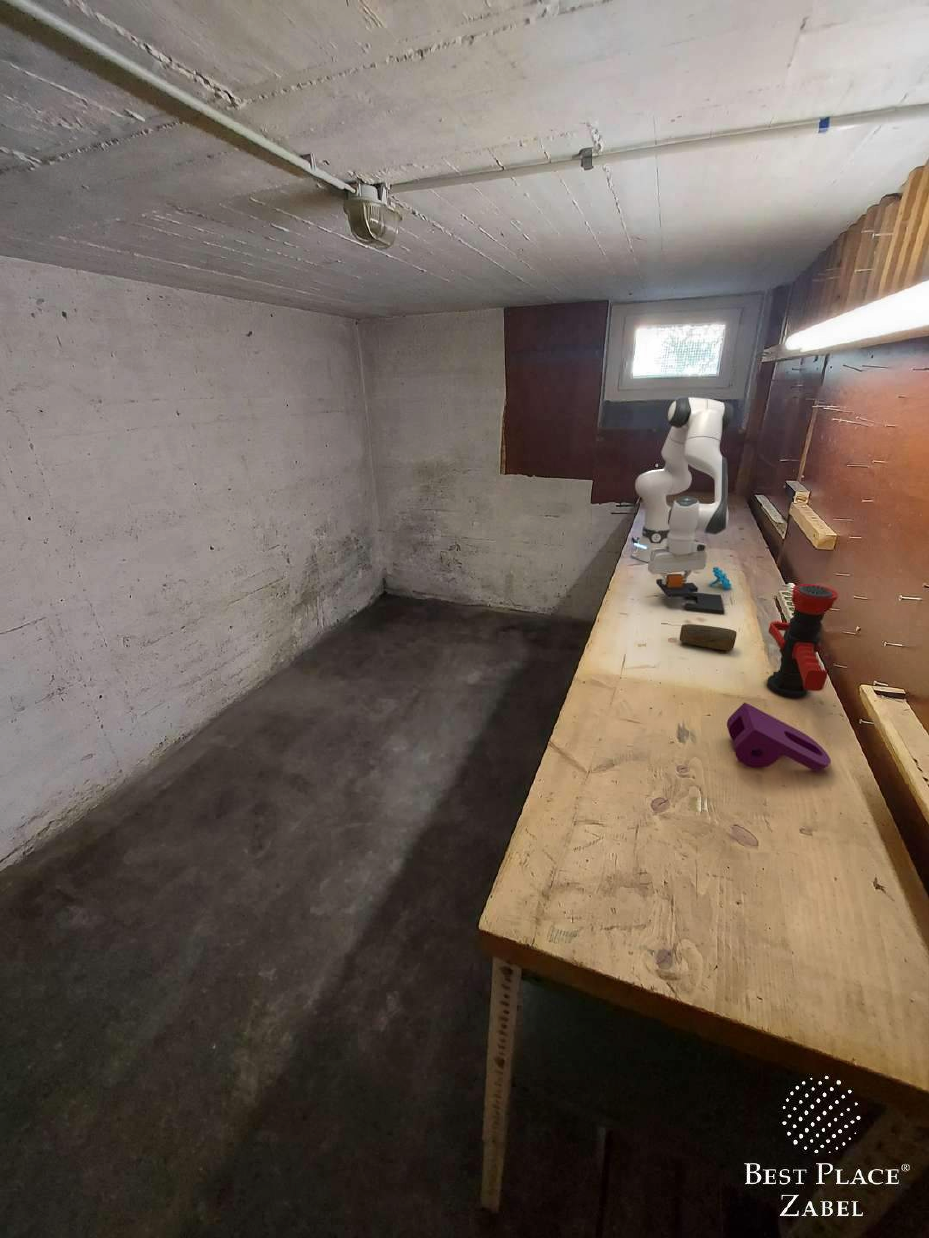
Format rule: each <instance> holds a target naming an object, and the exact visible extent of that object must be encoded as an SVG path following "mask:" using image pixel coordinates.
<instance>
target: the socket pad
mask: <svg viewBox="0 0 929 1238" xmlns="http://www.w3.org/2000/svg"><path fill="white" fill-rule="evenodd" d="M691 593H692V597H683V598H684V600H693V601H696V603H694V602H693V603H692V602H685V605H684V610H685V611H687V612H688V611H689V612H698V613H704V614H705V613H706V614H715V615H724V614H725V608H724V603H723V597H722V595H721V594H716V593H715V594H714V593H713V594H712V593H703V592H691Z"/></svg>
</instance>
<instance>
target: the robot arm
mask: <svg viewBox="0 0 929 1238" xmlns="http://www.w3.org/2000/svg"><path fill="white" fill-rule="evenodd" d="M734 413H735V411H734V407H733V404H730V403H729V402H726V401H719V400H715V399H712V398H711V399H710V398H703V397H688V396H678V397H677V398H675V399H674V400H673V401H672V403H671V404H670V406H669V408H668V411H667V422H668V424H669V425H670V426H671V428H670V429H669V432H668V434H667V437H666V438H665V441H664V444H663V447H662V449H661V457H662V459H663V460H664V461H665V465H664V466H663V468H662V469H653V470H648V471H646V472H643V473H641V474H639V475H638V477H637V478H636V479H635V482H634V488H635V492H636V494H637V495H638V496H639V497H640V498H641V499H642V501H643V503H644V507H645V512H644V513H645V514H644V515H645V516H644V525H643V527H642V529H641V531H642V532H641V535H640V536H637V537H636V539H635V537H634V536H631V540H632V541H633V545H634V546H636V549H635V550H634V551H633V552H632V553H631V558H634V559H638V560H639V561H642V562H645V563H648V565H647V571H648V572H649V573H650V574H652V575H660V577H661V579H663V580H662V584H664V585H665V584H668V582H669V580H668V579H667V578H666V576H667V574H675V573H683V572H684V573H683V574H682V575H683V576H684V579H683V583H687V580H688V578H689V576H691V574H692V571H700V570H701V571H702V570H704V569H705V568H706V565H707V561H708V553H707V550H708V549H709V545H707V544H706V543H704V542H702V541H699V540H697V539H696V532H697V533H705V534H709V535H718V534H720V533H722V532H723V531H725V530H726V528H727V526H728V524H729V519H730V513H729V508H728V487H729V486H728V485H729V482H728V481H729V480H728V479H729V478H728V475H729V474H728V460H727V458H726V457H725V456H723V455H722V453H721V450H720V445H721V440H722V433H723V432H724V431H726V430H727V429H728V428H730V427H729V426H730V425H731V423H732V420H733V417H734ZM689 466H690V467H691V468H693V469H695V470H697V471H700V472H701V473H704V474H706V475H708V476H710V477H711V478H712V479H713V481H714V502H713V503H701V502H700V501H699V499H698V498H697V497H695V496H689V495H688V496H687V495H686V496H680V497H677V498H676V499H675V500H674V501H673V505H672V507H671V506H670V505H669V504H668V503H667V496H671V495H672V496H673V495H677V494H680V493H682V492H684V491H687V490H688V489H689V488H690V486H691V484H692V479H693V477H692V473H691V472H690V470H689Z"/></svg>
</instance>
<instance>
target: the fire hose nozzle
mask: <svg viewBox="0 0 929 1238" xmlns="http://www.w3.org/2000/svg"><path fill="white" fill-rule="evenodd" d="M791 592H792V596H791V602H792V604H793V606H794V609H793V613H792V614H793V616H792V617H791V618H790V620H789V622H784V621H780V620H775V621H771V622H770V623H769V627H768V631H767V632H768V633H769V635H770V636H771V637H772V638H773V639H774V641H775V643H776V644H777V646H778V648H779V653H780V655H781V657H780V666H779V669H778V670H777V671H773V673H772V674H771V675H769V676H768V678H767V682H766V688H767V689H768V690H769V691H771V692H772V694H773V693H774V694H776V695H778V696H779V697H783V698H787V699H802V698H803V699H804V698H805V697H806V696H807V694H808V691H813V692H820V691H823V690H824V687H825V683H826V681H827V677H828V672H827V670H826V669H822V666H821V665H820V661H819V659H818V657H817V653H820V652H821V650H822V644H821V638H820V636H819V634H820V632H821V631H822V627H823V623H822V622H821V621H823V619H824V617H825V614H826V613H827V612H828V611H830V610H831V609H832V608H833V605H834V603H835V602H836V601H837V600H838V596H839V593H838V592H837V591H836V590H835V589H832V588H830V587H828V586H824V585H820V584H813V583H812V584H811V583H800V584H797V585H794V586H793V588H792V591H791ZM781 631H784V633H783V634H782V633H781Z"/></svg>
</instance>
